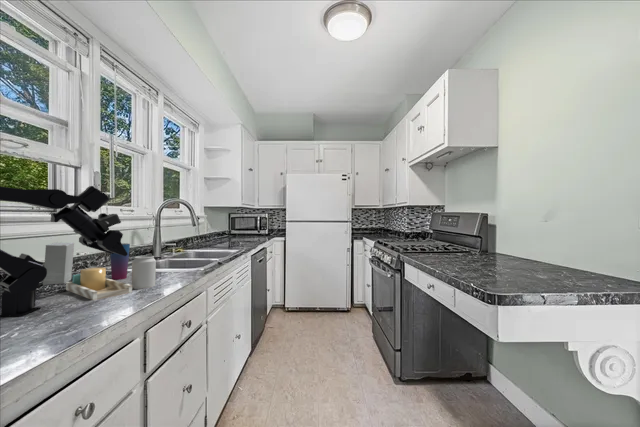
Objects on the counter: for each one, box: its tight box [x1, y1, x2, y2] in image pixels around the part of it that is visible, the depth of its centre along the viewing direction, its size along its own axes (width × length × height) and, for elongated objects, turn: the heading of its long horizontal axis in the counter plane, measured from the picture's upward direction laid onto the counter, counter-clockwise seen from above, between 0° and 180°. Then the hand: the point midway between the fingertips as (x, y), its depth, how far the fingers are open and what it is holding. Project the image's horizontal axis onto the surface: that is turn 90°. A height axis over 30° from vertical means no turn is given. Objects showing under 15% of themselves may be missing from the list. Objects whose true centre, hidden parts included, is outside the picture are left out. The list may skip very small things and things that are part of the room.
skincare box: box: [42, 241, 75, 287], centre depth 111 cm, size 8×7×16 cm
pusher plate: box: [72, 274, 80, 285], centre depth 103 cm, size 1×8×5 cm, turn 148°
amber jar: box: [80, 267, 107, 291], centre depth 101 cm, size 7×7×7 cm
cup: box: [109, 242, 131, 281], centre depth 118 cm, size 7×7×15 cm
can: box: [131, 255, 157, 290], centre depth 106 cm, size 8×8×12 cm
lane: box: [65, 277, 133, 301], centre depth 98 cm, size 22×11×3 cm, turn 58°
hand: (119, 254), depth 99 cm, fingers open, 9 cm apart
